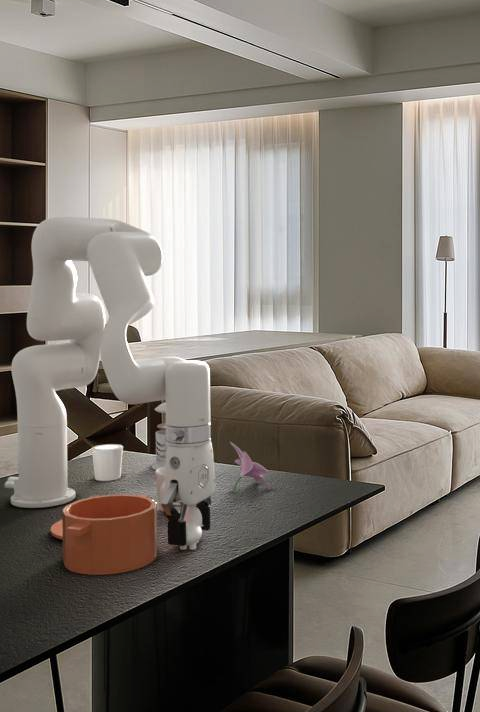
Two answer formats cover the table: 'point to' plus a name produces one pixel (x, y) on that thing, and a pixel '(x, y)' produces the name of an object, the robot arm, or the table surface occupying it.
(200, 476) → the robot arm
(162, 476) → the cup
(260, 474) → the lily
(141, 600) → the table surface
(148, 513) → the pot
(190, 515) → the toy creature
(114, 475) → the white short tapered cylinder
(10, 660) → the table surface
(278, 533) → the table surface
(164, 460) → the white hanging lantern
